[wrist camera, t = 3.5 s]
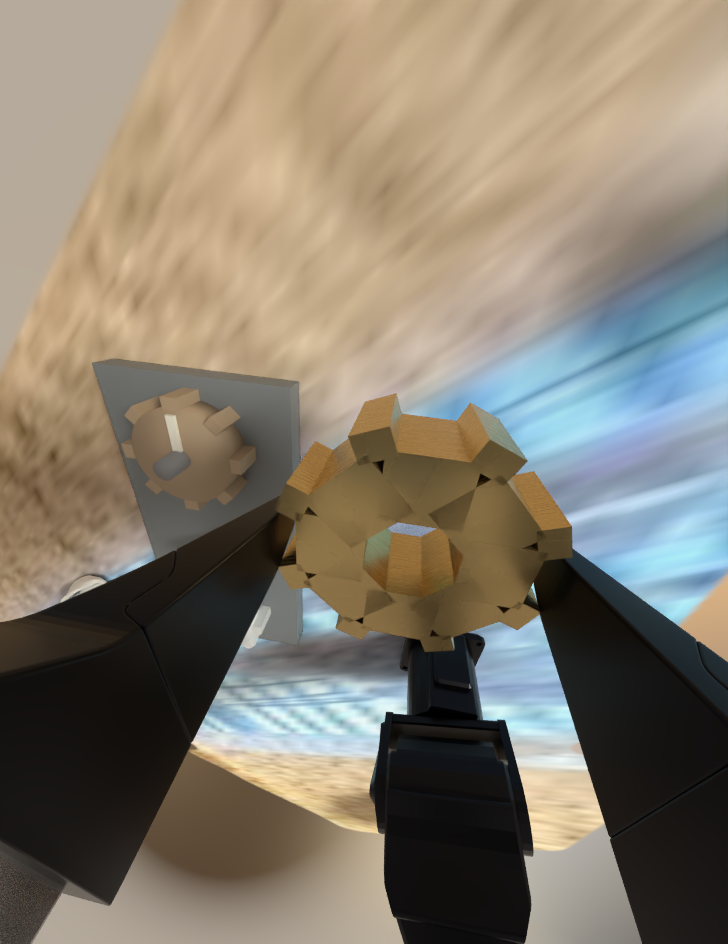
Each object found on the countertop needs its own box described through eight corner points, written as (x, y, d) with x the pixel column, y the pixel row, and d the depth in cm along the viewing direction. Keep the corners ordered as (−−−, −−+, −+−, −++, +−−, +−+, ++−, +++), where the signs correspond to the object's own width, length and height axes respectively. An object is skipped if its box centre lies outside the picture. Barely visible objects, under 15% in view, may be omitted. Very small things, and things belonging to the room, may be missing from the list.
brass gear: (492, 599, 12) (510, 668, 9) (305, 566, 12) (281, 625, 10) (571, 414, 8) (628, 457, 6) (304, 382, 9) (266, 409, 6)
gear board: (302, 630, 31) (281, 692, 26) (186, 608, 32) (145, 664, 27) (298, 381, 19) (259, 409, 14) (113, 358, 20) (16, 377, 15)
